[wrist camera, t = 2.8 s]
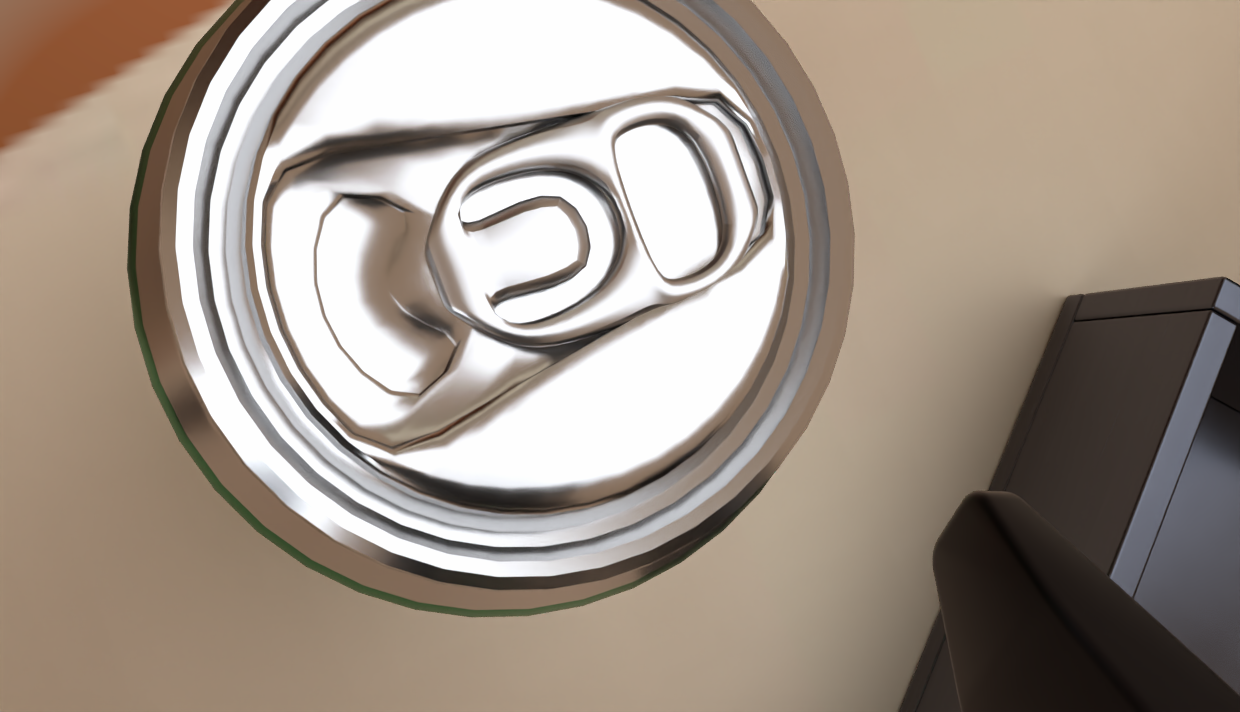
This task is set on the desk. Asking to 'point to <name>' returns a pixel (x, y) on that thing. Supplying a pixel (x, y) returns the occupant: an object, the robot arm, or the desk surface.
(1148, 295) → the black tray
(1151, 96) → the desk surface
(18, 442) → the desk surface
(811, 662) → the desk surface
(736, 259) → the soda can
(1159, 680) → the robot arm
